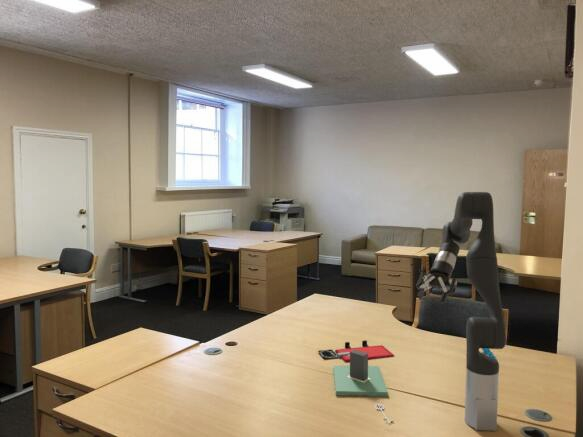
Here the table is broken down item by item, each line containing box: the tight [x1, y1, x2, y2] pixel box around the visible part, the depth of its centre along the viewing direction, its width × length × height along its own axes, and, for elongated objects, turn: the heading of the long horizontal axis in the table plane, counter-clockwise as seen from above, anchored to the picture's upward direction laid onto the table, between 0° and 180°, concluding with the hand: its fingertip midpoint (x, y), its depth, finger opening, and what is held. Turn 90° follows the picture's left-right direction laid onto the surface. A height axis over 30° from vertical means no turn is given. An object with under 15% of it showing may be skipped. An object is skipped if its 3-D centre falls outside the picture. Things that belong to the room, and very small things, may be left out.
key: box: [374, 403, 390, 424], centre depth 146 cm, size 12×1×3 cm
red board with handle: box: [317, 339, 395, 363], centre depth 196 cm, size 30×3×15 cm
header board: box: [332, 364, 389, 397], centre depth 169 cm, size 22×18×4 cm
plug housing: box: [349, 350, 369, 381], centre depth 169 cm, size 3×6×10 cm, turn 49°
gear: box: [480, 348, 498, 361], centre depth 190 cm, size 11×6×10 cm
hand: (430, 300), depth 167 cm, fingers open, 8 cm apart
